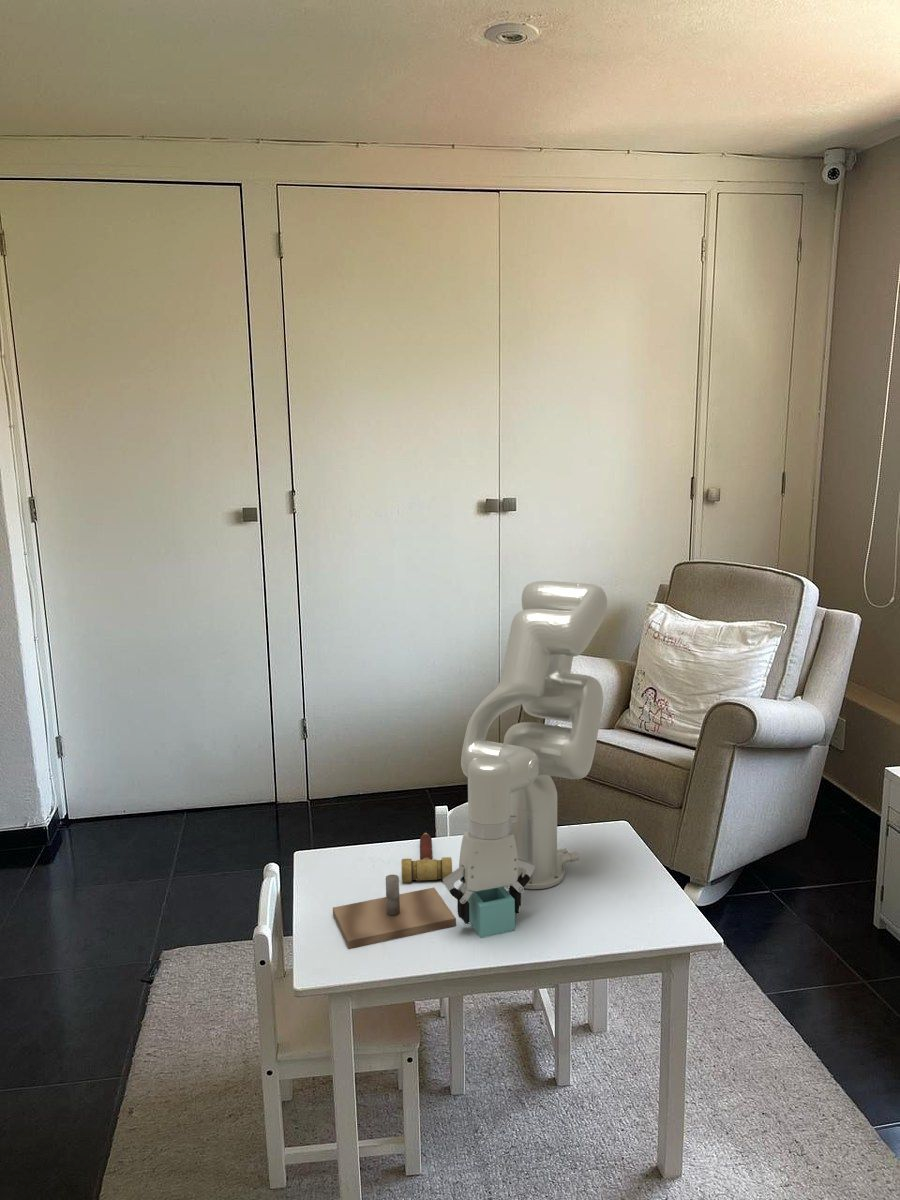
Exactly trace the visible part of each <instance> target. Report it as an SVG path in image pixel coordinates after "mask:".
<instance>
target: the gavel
mask: <svg viewBox="0 0 900 1200" xmlns="http://www.w3.org/2000/svg"><path fill="white" fill-rule="evenodd" d="M432 839H433V838H432V837H431V836H430V835H429V834H428V833H427V832H424V833H423V834H422V835H421V836H420V838H419V852H420V853H419V855H420V856H419V857H420V858H419V859H416V860H412V858H401V882H402V883H403V882H404V883H412V882H413V881H438V880H442V882H443V879H444V878H445V877H447V876H448V875H449V874H451V873H452V872H453V860H452V857H451V856H448V857H445V856H443V857H441V859H437V858H434V857H433V840H432ZM433 858H434V859H433Z"/></svg>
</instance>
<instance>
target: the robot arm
mask: <svg viewBox="0 0 900 1200" xmlns="http://www.w3.org/2000/svg"><path fill="white" fill-rule="evenodd" d="M607 598H608V597H607V595H606V591H605V590H604V589H603V588H602V587H601V586H599V585H597V584H594V583H593V584H592V583H582V582H581V583H579V582H566V581H555V580H553V581H552V580H537V581H533V582H530V583H528V584H526V585H525V586H524V588H523V590H522V593H521V606H522V607H521V608H522V610H520V611H518V612H517V613H516V614H515V615H514V617H513V619H512V621H511V624H510V629H509V634H508V640H507V645H506V650H505V654H504V660H503V664H502V668H501V675H500V680H499V683H498V685H497V687H496V688H495V689H494V690H493V691H492V692H490V693H489V694H488V695H486V697H485V698H484V699H483V700H482V701H481V702H480V703H479V705H477V707H476V709H475V710H474V712H473V713H472V715H471V716H470V718H469V721H468V723H467V726H466V730H465V735H464V738H463V739H464V740H463V744H462V749H461V757H460V766H461V771H462V772H463V774H464V776H466V778H467V810H468V811H467V830H466V831H464V832H463V835H462V839H461V844H460V845H461V846H460V852H459V860H458V861H459V862H458V868H456V869H455V870H454V871H452V873H451V874H449V875H448V876H447V877H445V878H444V879H443V881H442V883H443V884H444V886H445V888H447V891H448V892H449V893H450V895H451V897H454V898H455V899H456V900H457V915H458V918H459V919H461V920H462V921H463V923H465V925H466V924H468V925H469V923H470V921H469V902H468V901H467V900H468V898H469V897H470V896H471V894H472V893H473V892H477V891H483V890H488V889H494V888H499V887H504V888H505V887H508V886H509V887H508V892H509V894H510V895H511V896H512V897H513V898H514V899H515V915H517V914H520V907H521V905H522V893H523V892H524V889H527V890H542V889H548V888H553V887H554V886H556V885H559V884H560V883H561V882H562V881H563V880H564V878H565V874H566V872H565V867H564V865H566V863H572V862H573V863H574V862H579V861H580V854H579V851H577V850H575V851H569V852H568V849H567V848H560V849H558V791H557V788H556V785H555V782H554V779H552V777H557V778H563V779H570V780H580V779H583V778H585V777H587V776H588V774H589V772H590V771H591V768H592V765H593V762H594V761H593V760H594V758H595V757H594V756H595V751H596V747H597V741H598V735H599V730H600V723H601V719H602V714H603V713H602V712H603V706H604V693H603V687H602V684H601V683H600V681H599V680H598V679H597V678H595V677H593V676H591V675H587V674H580V673H573V672H572V665H573V661H574V660H573V659H574V658H575V657H578V656H580V655H581V654H582V653H583V652H584V651H585V650H586V649H587V648H588V646H589V644H590V642H592V639H593V638H594V636H595V634H596V633H597V631H598V630H599V628H600V626H601V625H602V623H603V621H604V619H605V616H606V613H607V610H608V599H607ZM520 705H522V709H523V710H524V712H525V713H526V714H527V715H529V716H532V717H535V718H541V719H546V720H553V721H561V722H566V723H567V722H568V723H571V727H567V726H566V727H565V726H556V725H552V724H546V723H540V722H539V723H538V722H529V721H527V722H525V721H524V722H518V723H516V724H513V725H512V726H510V727H509V728H508V729H507V731H506V732H505V734H504V737H503V742H495V741H490V740H486V738H487V734H488V731H489V730H490V727H491V725H492V723H493V722H494V720H496V719H497V717H499V716H500V715H502V714H503V713H505V712H506V711H508V710H510V709H512V708H515V707H517V706H520ZM458 881H460V885H459V887H458V888H456V887H455V883H456V882H458Z"/></svg>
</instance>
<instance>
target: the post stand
mask: <svg viewBox="0 0 900 1200" xmlns="http://www.w3.org/2000/svg"><path fill="white" fill-rule="evenodd" d="M385 891H386V892H385V896H384V897H379V898H375V899H369V900H364V901H360V902H355V903H350V904H349V903H348V904H343V905H340V906H339V905H338V906H334V907H332V916H333V918H334V920H335V923H336V925H337V927H338V929H339V931H340V934H341V936H342V938H343V940H344V942H345V945H346V947H347V949H354V948H359V947H363V946H368V945H373V944H377V943H381V942H387V941H391V940H395V939H400V938H405V937H410V936H414V935H420V934H424V933H428V932H434V931H437V930H442V929H447V928H451V927H456V926H457V918H456V916H455V915H454V914H453V912H452V910H451V909H450V908H449V906H448V905H447V903H446V902H445V901H444V899H443V898H442V896H441V895H440V894H439V892H438V891H437V889H436V888H435V887H429V888H424V889H420V890H415V891H410V892H404V893H400V877H399V876H398V875H397V874H388V875H386V876H385Z"/></svg>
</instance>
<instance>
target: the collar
mask: <svg viewBox="0 0 900 1200" xmlns="http://www.w3.org/2000/svg"><path fill="white" fill-rule="evenodd" d="M467 901H468V902H469V921H470V922H469V923H470V925H471V927H472V928H473V930H475V932H476V933H477V934H478V936H479V938H481V939H482V938H485V937H490V936H494V935H498V934H500V935H501V934H504V933H508V932H513V931H515V930H516V922H515V921H516V920H515V919H516V918H515V917H516V916H515V915H516V913H515V899H514V898H513V897H512V896H511V895H510V894H509V890H507V889H506V887H505V886H504V887H499V888H494V889H488V890H483V891H477V892H473V893H472V894H471V896H470V897H469V898H468V900H467Z"/></svg>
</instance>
